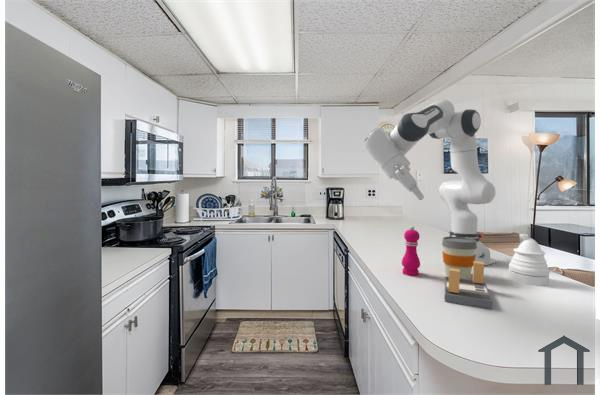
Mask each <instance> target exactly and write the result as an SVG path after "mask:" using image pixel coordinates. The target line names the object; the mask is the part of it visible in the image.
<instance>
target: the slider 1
mask: <svg viewBox="0 0 600 395" xmlns="http://www.w3.org/2000/svg"><path fill="white" fill-rule="evenodd" d="M448 277H449V287H448V291H449V292H454V293H459V280H460V269H453V268H449V276H448Z"/></svg>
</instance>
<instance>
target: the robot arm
mask: <svg viewBox="0 0 600 395" xmlns="http://www.w3.org/2000/svg"><path fill="white" fill-rule="evenodd" d="M481 122H482V121H481V115H480V113H479V112H478V111H477V110H476V109H471V108H469V109H465V110H456V111H455V106H454V104H453V103H452V102H451V101H450V100H447V99H442V100H437V101H435V102H432V103H430V104H429V105H427V106H425V107H424V108H423V109H422V110H420V111H417V112H409V113H406V114H404V115H403V116H402V117H401V119H400V120H399V121H398V123H397V124H396V125H395V127H394V128H393V129H392V130H391V131H385V130H383V129H382V128H380V127H376V128H374V129H373V130H371V132H370V133H369V134H368V135H367V136H366V137H365V140H364V147H365V149H367V151H368V153H369V154H370V156H371V157H372V158H373V159H374V160H375V161H377V163H378V164H379V166H380V168H381V169H382V171H383V172H384V173H385V175H386V176H387V177H388V178H389V180H390V179H394V180H395V181H398V182H399V183H400V184H401V185H402V186H403V187H404V188H405V189H406V190H407V191H408V192H410V193H411V192H412V193H413V195H415V196H416V198H417V199H418V200H420V201H421V200H423V199H424V198H425V196H424V194H423V192H421V190H420V188H419V186H418V182H417V179H415V178H414V176H413V175H412V174H411V172H410V171H411V168H410V165H411V162H410V161H409V160H408V158H407V157H406V155H407V153H408V152H410V150H412V149H413V148H414V147H415V146H416V144H417V143H418V142H419V141H420V140H422V139H423V138H424V137H425V136H426V135H429V137H430V138H432V139H437V140H440V139H450V144H449V151H450V152H449V153H450V154H449V155H450V167H451V169H452V171H453V172H455V173H457V174H458V175H459V176H460V178H461V179H457V180H456V179H452V180H447V181H444V182H441V184H440V186H439V189H438V194H439V198H440V199H441V200H443V202H444V203H445V204H446V205H447V208H448V210H449V214H450V223H451V224H450V231H449V237H464V238H470V239H474V240H476V245H477V248H476V250H475V255H476V256H475V261H478V262H483V263H484V266H488V265H491V264H496V263H497V261H496V259H494V258H491V251H490V249H489V248H488V247H487V246H486V245H485V244H484V243H482V242H481V241H480V240H481V239H483V238H484V236H485V235H484V233H478V220H479V218H478V216H477V215H476V214H475V213H474V212H473V211H472V210H470V208H469V206H468V204H469V205H485V204H490V203H492V201H493V200H494V198H495V197H496V187H495V186H494V184H493V183H492V182H490V181H489V180H488V179H487V178H486V177H485V176H484V175H483V173H482V171H481V170H480V165H479V161H478V160H479V159H478V158H479V157H478V145H477V140H476V135H475V134H476V133H477V132H478V131H479V129H480V127H481Z"/></svg>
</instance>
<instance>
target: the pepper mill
mask: <svg viewBox="0 0 600 395" xmlns="http://www.w3.org/2000/svg"><path fill="white" fill-rule="evenodd" d="M403 234H404V235H403V237H404V238H403V239H405V243H404V245H405V246H406V247H405V253H404V255H403V257H402V259H401V265H402V267H403V268H402V274H403V275H405V276H411V277H416V276H419V275H420V274H419V273H420V272H419V271H420V270H419V268H420V267H421V261H420V258H419V256H418V254H417V251H418V250H417V246H418V245H419V239H420V233H419V232H418V230H415V226H413V225H410V226H409V229H408V230H406V231H405V232H404V233H403Z"/></svg>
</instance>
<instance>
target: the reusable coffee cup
mask: <svg viewBox="0 0 600 395" xmlns="http://www.w3.org/2000/svg"><path fill="white" fill-rule="evenodd" d="M441 245H442V261H443V264H444V269H445V270H444V271H445V276H447V277H449V268H453V269H460V278H462V279H469V280H470V279H471V275H472V272H473V261H475V256H476V255H475V250H476V248H477V245H476V240H474V239H470V238H464V237H450V236H444V237H443V238H442V243H441Z"/></svg>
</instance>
